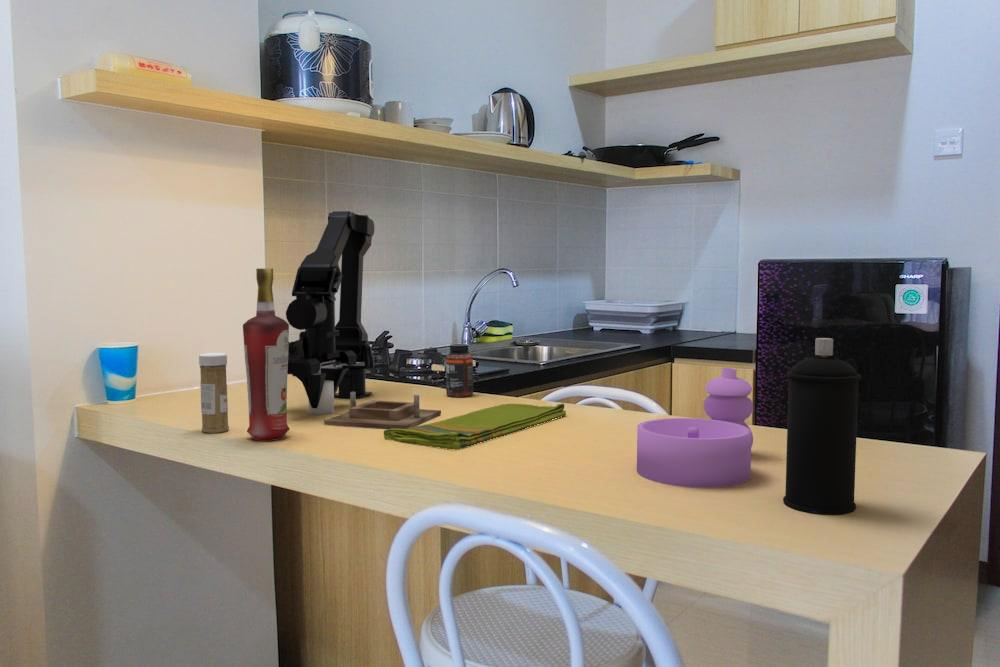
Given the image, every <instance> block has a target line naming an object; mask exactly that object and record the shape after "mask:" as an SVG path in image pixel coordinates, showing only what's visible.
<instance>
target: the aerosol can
mask: <svg viewBox="0 0 1000 667" xmlns="http://www.w3.org/2000/svg"><path fill="white" fill-rule="evenodd" d="M814 342H815V344H814V345H815V347H814V355H812V356H811V357H808V358H804V359H803V360H800V361H798V362H797V363H796V364H794V365H793V366H792V367H791V370H788V371H787V372H786V376H787V377H788V390H787V391H788V392H787V393H788V394H787V422H786V423H787V427H786V430H787V433H786V459H785V461H786V463H785V494H784V496H783V498H782V501H783V503H784V505H786V506H787V507H789V508H791V509H794V510H795V511H796V510H797V511H799V512H804V513H810V514H819V515H844V514H849V513H852V512H854V511H855V510H856V509H857V505H856V503H855V490H856V489H855V487H856V485H855V484H856V483H855V482H856V463H857V462H856V458H857V454H856V453H857V432H858V430H857V428H858V402H859V381H860V380H861V379H862V375H861V374H859V373H857V371H856V369H855V368H854V367H853V366H852V365H851V364H850V363H849V362H846V361H845V360H842V359H839V358H837V357H836V356H835V355H834V338H831V337H816V338H815V339H814ZM833 355H834V356H833Z"/></svg>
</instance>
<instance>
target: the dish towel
mask: <svg viewBox="0 0 1000 667" xmlns="http://www.w3.org/2000/svg"><path fill="white" fill-rule="evenodd" d="M564 415H567V412H566V410H565V403H559V404H556V405H555V406H552V405H551V406H547V405H546V406H543V405H541V406H539V405H534V404H525V403H523V404H522V403H505V404H504V403H501V404H499V405H495V406H490V407H485V408H482V409H478V410H475V411H470V412H468V413H465V414H461V415H457V416H453V417H450V418H447V419H444V420H439V421H435V422H431V423H426V424H422V425H421V424H420V425H417V426H414V427H411V428H406V429H393V428H391V429H384V430H383V437H384V438H383V439H384V440H386V441H387V440H388V441H392V440H393V441H392V442H398V441H399V443H404V442H406V444H410V443H413V444H412V445H416V444H419V445H418V446H423V445H425V446H424V447H429V446H434V447H433V448H436V447H440V448H439V449H442V448H447V449H446V450H449V449H459V450H461V449H460V448H462V449H465V448H464V447H466V448H468V447H467V446H469V447H472V446H471V445H473V446H475V445H474V444H476V445H478V444H477V443H479V444H481V443H480V442H482V443H485V442H484V441H486V442H488V441H487V440H489V441H491V440H490V439H492V440H494V439H493V438H495V439H497V438H496V437H498V438H501V437H500V436H502V437H505V436H508V435H507V434H509V435H511V434H510V433H512V434H514V433H513V432H515V433H517V432H516V431H518V430H522V429H525V428H527V427H530V426H534V425H537V424H541V423H544V422H547V421H550V420H552V419H555V418H558V417H561V416H564ZM550 422H551V421H550ZM547 423H548V422H547ZM544 424H545V423H544ZM541 425H542V424H541ZM525 430H526V429H525ZM522 431H523V430H522ZM518 432H519V431H518ZM504 435H505V436H504Z"/></svg>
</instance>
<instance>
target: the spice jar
mask: <svg viewBox="0 0 1000 667" xmlns="http://www.w3.org/2000/svg"><path fill="white" fill-rule="evenodd" d="M198 364H199V368H200V369H199V370H200V387H199V388H200V407H201V408H200V411H201V423H202V426H201V431H202V432H203V433H206V434H207V433H208V434H219V433H224V432H227V431H228V430H229V429H230V427H229V413H228V411H229V404H228V403H229V402H228V385H227V384H228V383H227V364H228V355H227V353H225V352H205V353H200V354H199V356H198Z"/></svg>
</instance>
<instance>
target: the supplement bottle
mask: <svg viewBox="0 0 1000 667" xmlns="http://www.w3.org/2000/svg"><path fill="white" fill-rule="evenodd" d="M473 361H474V357H473V355H472V354H471V353H470V352H469V344H468V343H452V344H450V345H449V353H448V354H447V355H446V357H445V382H446V383H445V385H446V386H445V387H446V388H445V392H446V396H448V397H450V398H451V397H453V398H467V397H471V396H473V394H474V362H473Z"/></svg>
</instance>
